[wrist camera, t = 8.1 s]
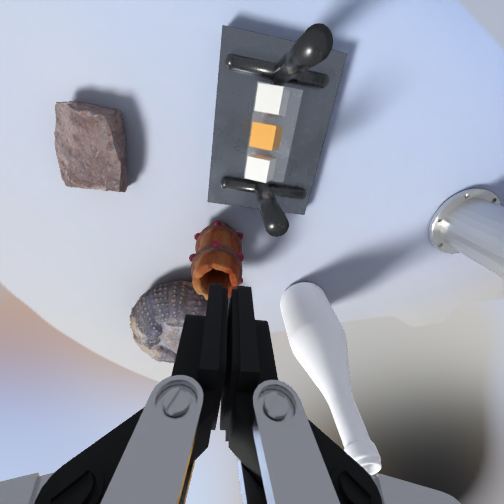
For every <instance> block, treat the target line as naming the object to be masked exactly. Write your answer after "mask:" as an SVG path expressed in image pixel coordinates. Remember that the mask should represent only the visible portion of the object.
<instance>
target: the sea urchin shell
mask: <svg viewBox="0 0 504 504" xmlns="http://www.w3.org/2000/svg"><path fill="white" fill-rule="evenodd" d="M207 301H208V300H206V299H205V298H204V296H203V295H199V294H198V293H197V292H196V291H195V289H194V288H193V285H192V282H187V281H174V282H168V283H164V284H160V285H158V286H156V287H154V288H152V289H150V290H148V291H147V292H146V293H144V294H143V295H142V296H141V297H140V299H139V300H138V301H137V303H136V305H135V306H134V307H133V308H132V312H131V315H130V321H131V324H130V325H131V329H132V331H133V335H134V340H135V342H136V343H137V344H138V346H139V347H140V348H141V349H142V351H144V352H145V353H147V354H148V355H149V356H150V357H151V358H153V359H155V360H157V361H165V362H169V363H175V359H176V354H177V350H178V346H179V341H180V337H181V333H182V328H183V324H184V320H185V316H186V314H190V315H202V316H206V308H207Z"/></svg>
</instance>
